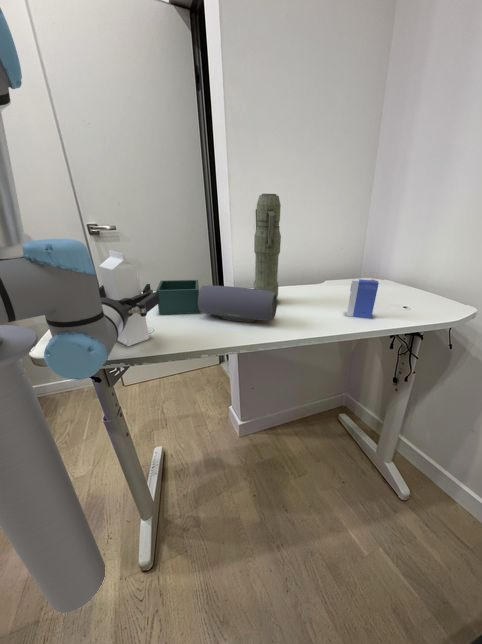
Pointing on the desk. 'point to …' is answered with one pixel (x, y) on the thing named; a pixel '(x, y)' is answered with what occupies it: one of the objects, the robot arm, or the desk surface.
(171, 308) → the box
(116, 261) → the milk
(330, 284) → the desk surface
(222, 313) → the bluetooth speaker
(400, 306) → the desk surface
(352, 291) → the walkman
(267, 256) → the thermos
